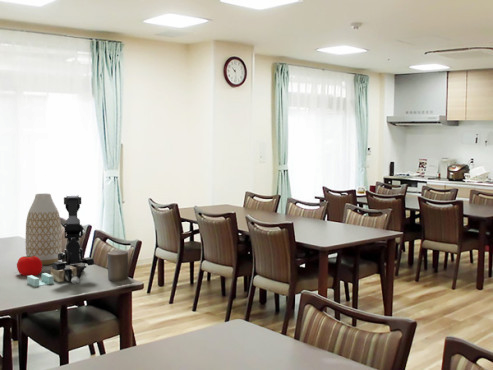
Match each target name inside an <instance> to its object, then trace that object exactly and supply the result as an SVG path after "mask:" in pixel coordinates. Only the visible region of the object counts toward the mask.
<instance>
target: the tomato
mask: <svg viewBox="0 0 493 370" xmlns="http://www.w3.org/2000/svg"><path fill="white" fill-rule="evenodd" d="M16 269H17V271H18V273H19V274H20V275H21V276H25V277H27V276H30V275H33V276H35V277H36V276H38V275H40V274H42V271H43V265H42V261H41V260H40V259H39V258H38V257H36V256H34V255H33V256H26V255H25V256H23V255H22V256H21V257H20V258H19V259H18V260H17V263H16Z"/></svg>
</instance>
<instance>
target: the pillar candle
mask: <svg viewBox="0 0 493 370" xmlns="http://www.w3.org/2000/svg"><path fill="white" fill-rule="evenodd" d="M107 280H108V281H111V282H123V281H127V280H129V252H128V251H127V250H112V251H111V250H110V251H107Z"/></svg>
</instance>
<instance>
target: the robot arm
mask: <svg viewBox="0 0 493 370" xmlns="http://www.w3.org/2000/svg"><path fill="white" fill-rule="evenodd" d="M63 205H65V206H64V207H65V210H66V211H67V213H68V218H67V219H66V220H65V224H64V239H66V244H65V248H64V253H63V252H62V253H59V254H58V261H57V262H53V264H51V268H52V269H55V270H64V271H65V273H66V275H67V278H68V281H67V282H69V283H71V275H72V269H70V266H73V267H75V268H76V269H77V271H76V277H78V278H79V280H80V278H81V276H82V274H83V272H84V270H85V269H86V268H87V267H88V266H92V265H93V266H94V265H95V259H94V258H92V257H88V256H86V257H84V250H83V248H81V244H80V242H81V241H80V240H81V239H82V237H83V236H84V227H83V225H82V224H81V221H80V218H78V212H79V210H80V208H81V207H80V206H81V205H82V197H81V196H79V195H78V194H76V195H75V194H74V195H73V194H70V195H68V194H67V195H65V197H63ZM86 264H87V265H86Z"/></svg>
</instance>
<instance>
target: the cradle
mask: <svg viewBox="0 0 493 370" xmlns="http://www.w3.org/2000/svg"><path fill="white" fill-rule="evenodd" d="M26 277H27V278H26V279H27V284H28V285H30V286H32V287H35V288H36V287H40V286H47V285H51V284H54V283H55V282H54V281H55V280H54V277H53V276H52V275H51V273H50V274H49V273H47V272H44V273H42V272H41V280H40V278H39V277H37V276H36V275H35V276H33V275H30V276H26Z"/></svg>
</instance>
